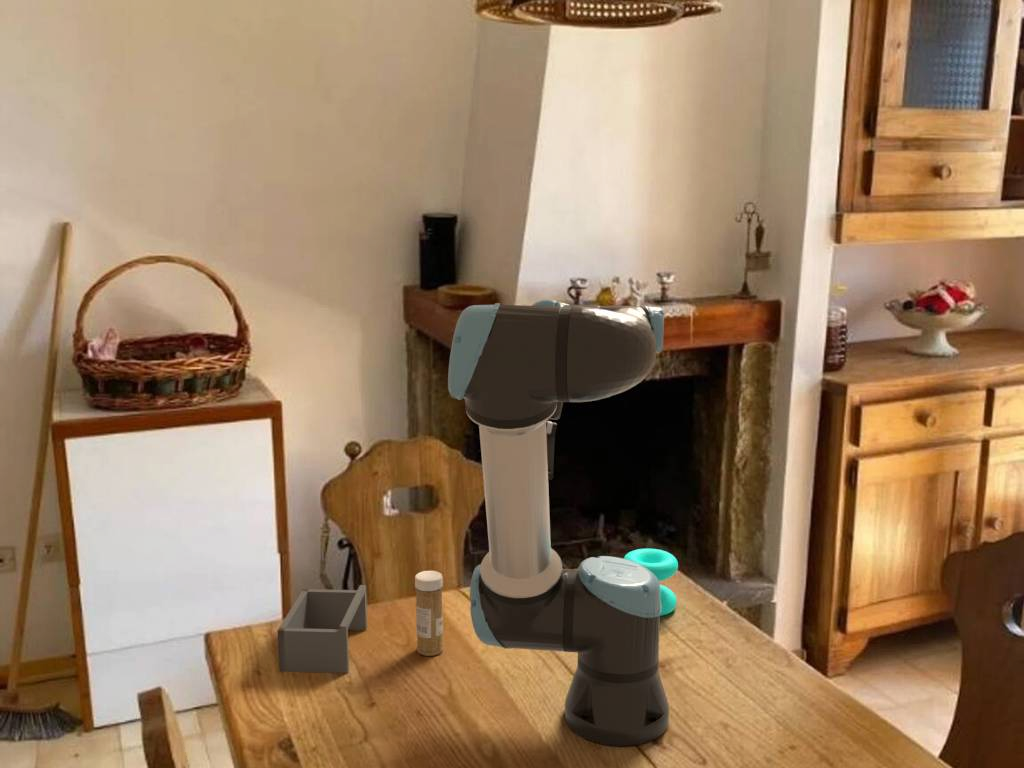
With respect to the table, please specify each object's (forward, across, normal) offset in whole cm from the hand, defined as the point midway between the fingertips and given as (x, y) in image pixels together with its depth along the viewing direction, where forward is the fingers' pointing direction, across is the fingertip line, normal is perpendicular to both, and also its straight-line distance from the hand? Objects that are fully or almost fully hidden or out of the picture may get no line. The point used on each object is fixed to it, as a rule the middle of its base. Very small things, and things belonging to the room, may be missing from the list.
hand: (514, 515), depth 166 cm
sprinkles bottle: (+25, +3, +8) cm, 27 cm away
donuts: (+12, +7, -32) cm, 35 cm away
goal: (+29, +9, +24) cm, 39 cm away
